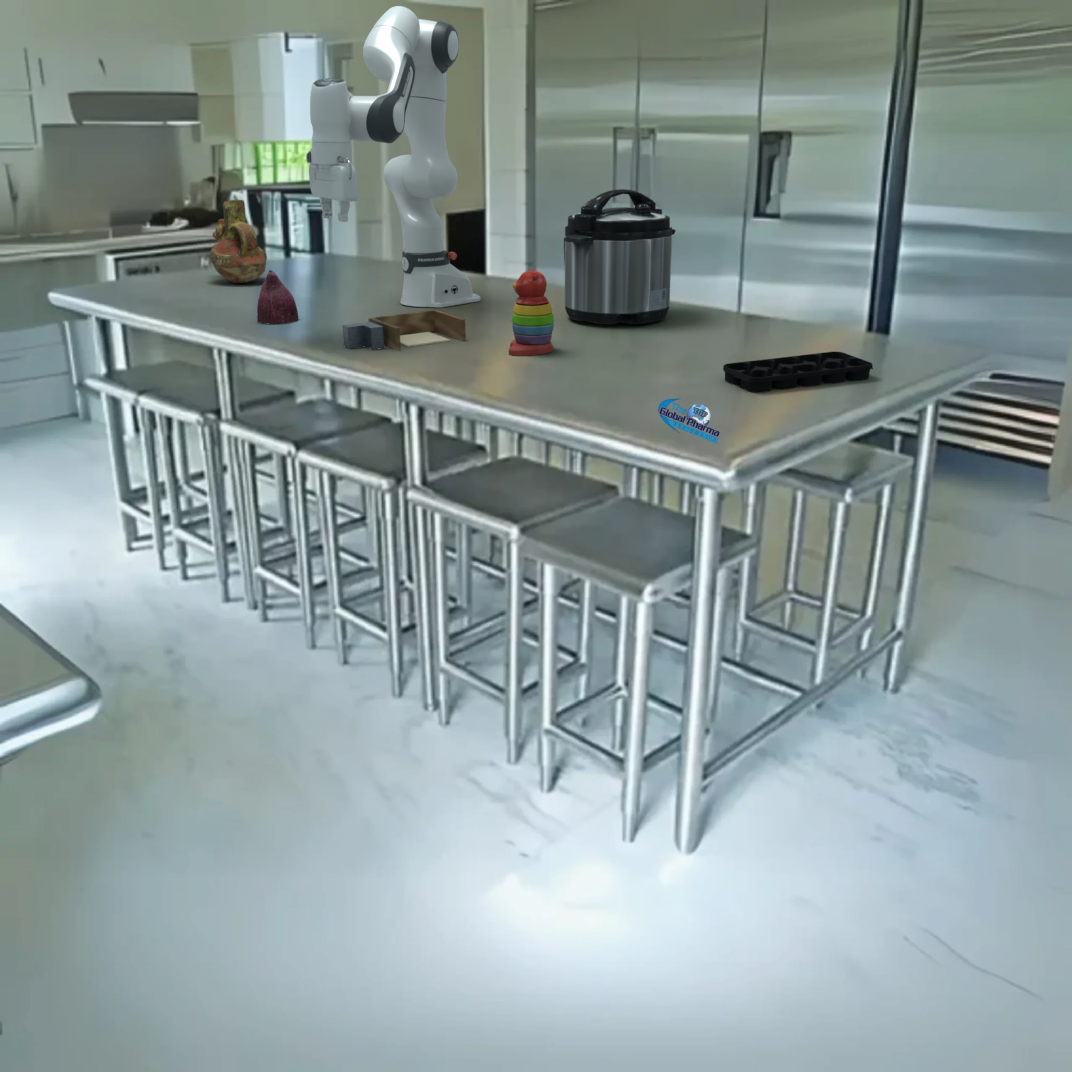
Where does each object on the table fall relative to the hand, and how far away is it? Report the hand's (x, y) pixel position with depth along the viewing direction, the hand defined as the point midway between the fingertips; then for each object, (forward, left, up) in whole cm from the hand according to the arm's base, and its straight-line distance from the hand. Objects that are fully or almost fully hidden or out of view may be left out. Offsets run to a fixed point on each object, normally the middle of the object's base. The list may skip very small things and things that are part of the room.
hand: (335, 219), depth 246 cm
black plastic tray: (-60, +90, -28) cm, 111 cm away
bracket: (0, +12, -27) cm, 30 cm away
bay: (-14, +12, -28) cm, 33 cm away
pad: (-14, +12, -28) cm, 33 cm away
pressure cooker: (-68, +17, -28) cm, 75 cm away
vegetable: (+5, -31, -28) cm, 42 cm away
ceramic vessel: (-7, -99, -28) cm, 103 cm away
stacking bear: (-30, +37, -28) cm, 55 cm away
